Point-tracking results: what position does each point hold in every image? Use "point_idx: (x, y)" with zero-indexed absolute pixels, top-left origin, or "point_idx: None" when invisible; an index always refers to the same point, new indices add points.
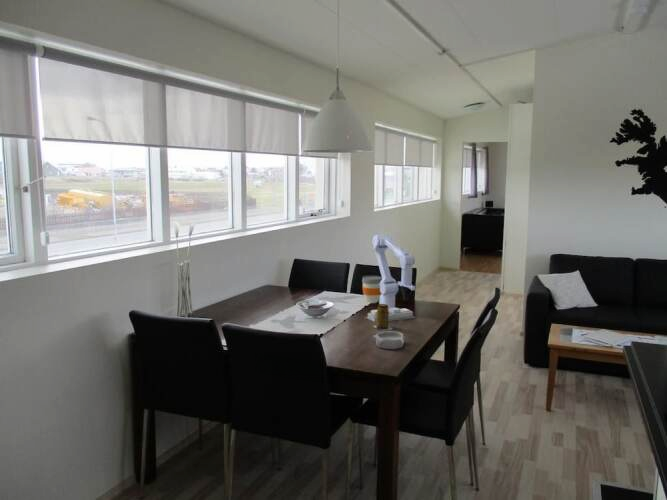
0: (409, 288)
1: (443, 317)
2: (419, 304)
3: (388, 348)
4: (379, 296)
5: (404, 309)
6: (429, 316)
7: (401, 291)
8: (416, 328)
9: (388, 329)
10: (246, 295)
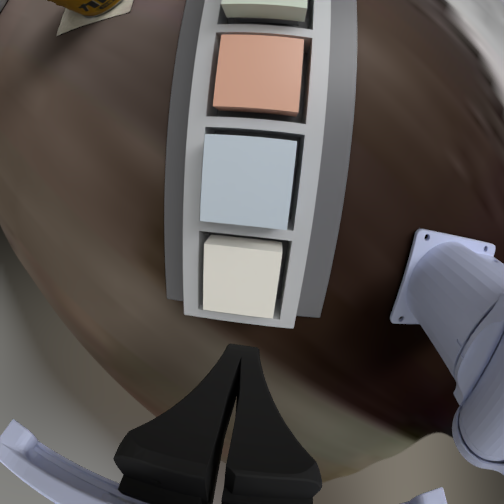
0: (95, 479)
1: (140, 397)
2: (374, 440)
3: None
4: None
5: (243, 290)
6: (173, 372)
7: (282, 429)
8: (20, 158)
9: (65, 12)
10: None
